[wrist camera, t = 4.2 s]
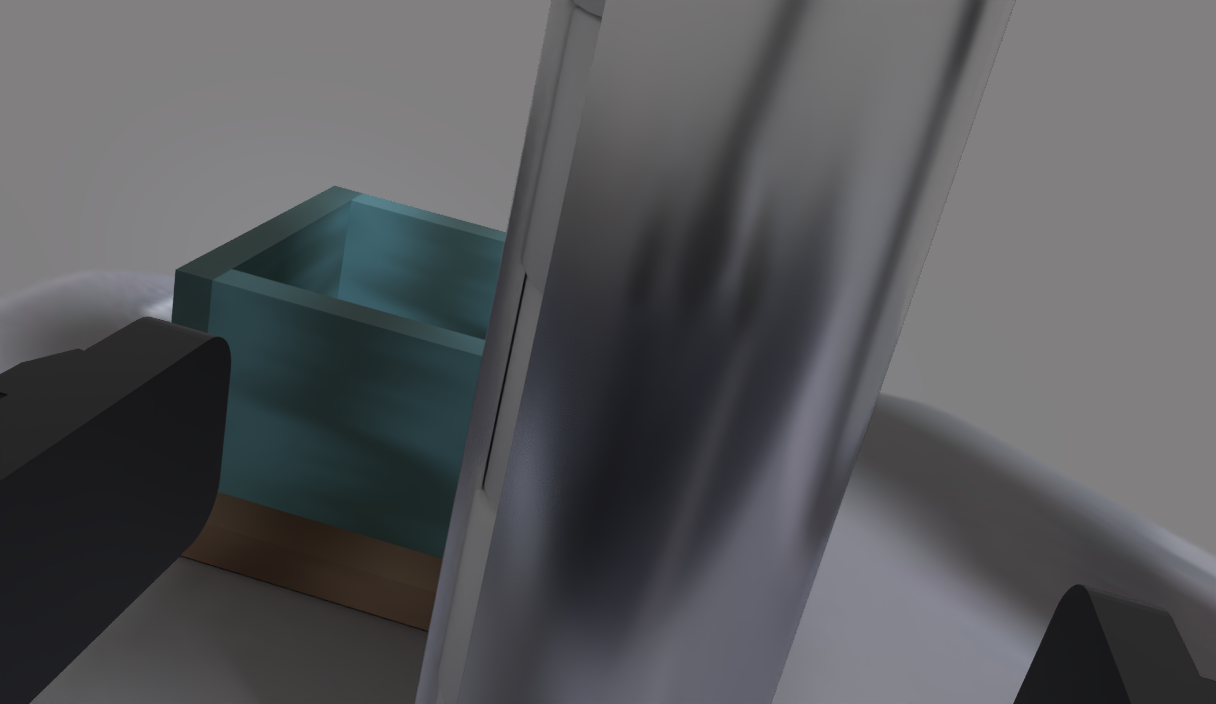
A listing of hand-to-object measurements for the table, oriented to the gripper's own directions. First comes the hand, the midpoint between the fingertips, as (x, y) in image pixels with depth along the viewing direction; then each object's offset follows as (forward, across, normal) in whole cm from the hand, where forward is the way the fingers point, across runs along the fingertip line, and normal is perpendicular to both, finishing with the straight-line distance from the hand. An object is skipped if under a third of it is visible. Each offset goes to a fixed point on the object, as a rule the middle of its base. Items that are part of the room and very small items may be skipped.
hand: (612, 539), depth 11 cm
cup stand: (+21, +8, +13) cm, 26 cm away
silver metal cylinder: (+8, 0, +13) cm, 16 cm away
